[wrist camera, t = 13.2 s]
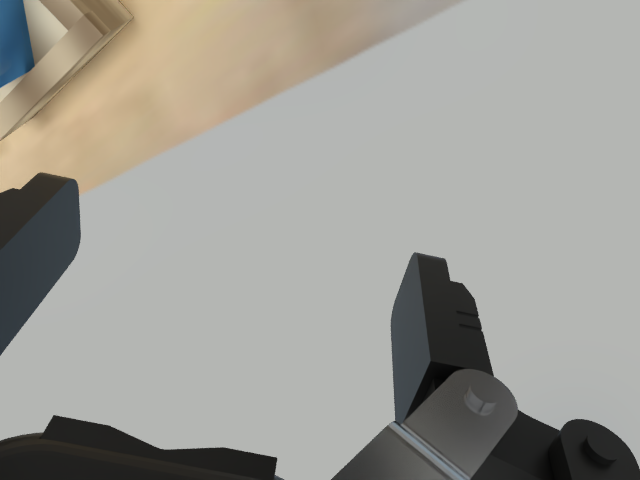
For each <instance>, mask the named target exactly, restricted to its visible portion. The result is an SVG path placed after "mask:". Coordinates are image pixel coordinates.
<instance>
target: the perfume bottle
mask: <svg viewBox="0 0 640 480" xmlns="http://www.w3.org/2000/svg"><path fill="white" fill-rule="evenodd" d="M34 67H35V64H34V58H33V53H32V47H31V41H30V36H29V30H28V25H27V19H26V14H25V8H24V3H23V0H0V88H1V87H3V86H5V85H6V84H8V83H10V82H12V81H13V80H15V79H17V78H19V77H20V76H22V75H24V74H25V73H27V72H29V71H31V70H32V69H33V68H34Z"/></svg>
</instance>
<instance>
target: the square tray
mask: <svg viewBox="0 0 640 480" xmlns="http://www.w3.org/2000/svg"><path fill="white" fill-rule="evenodd" d="M23 3H24V8H25V14H26V19H27V25H28V30H29V36H30V41H31V47H32V53H33V58H34V64H35V67H34V68H33V69H32V70H31V71H29V72H27V73H25V74H24V75H22V76H20V77H19V78H17V79H15V80H13V81H12V82H10V83H8V84H6V85H5V86H3V87H1V88H0V141H1V140H2V139H4V138H5V137H6V136H8V135H9V134H11V133H12V132H13V131H15V130H16V129H18V128H19V127H20V126H22V125H23V124H24V123H26V122H27V121H29V120H30V119H31V118H33V117H34V116H35V115H36V114H37V113H38V112H39V111H40V110H41V109H42V108H43V107H44V106H45V105H46V104H47V103H48V102H49V101H50V100H51V99H52V98H53V97H54V96H55V95H56V94H57V93H58V92H59V91H60V90H61V89H62V88H63V87H64V86H65V85H66V84H67V83H68V82H69V81H70V80H71V79H72V78H73V77H74V76H75V75H76V74H77V73H78V72H79V71H80V70H81V69H82V68H83V67H84V66H85V65H86V64H87V63H88V62H89V61H90V60H91V59H92V58H93V57H94V56H95V55H96V54H97V53H98V52H99V51H100V50H101V49H102V48H103V47H104V46H105V45H106V44H107V43H108V42H109V41H110V40H111V39H112V38H113V37H114V36H115V35H116V34H117V33H118V32H119V31H120V30H121V29H122V28H123V27H124V26H125V25H126V24H127V23H128V22H129V21H130V20H131V19H132V18H133V16H132V15H131V14H130V13H129V11H128V10H127V9H126V8H125V7H124V6H123V5H122V4H121V3H120V1H119V0H23Z"/></svg>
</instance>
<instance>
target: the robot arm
mask: <svg viewBox="0 0 640 480" xmlns="http://www.w3.org/2000/svg"><path fill="white" fill-rule="evenodd" d="M80 237H81V232H80V210H79V190H78V184H77V182H76V180H74V179H71V178H66V177H61V176H56V175H52V174H47V173H38V174H37V175H36V176H35V177H33V178H32V179H31V180H30V181H29V182H28V183H27V184H26V185H25V186H23V187H22V188H21V189H20V190H19V189H14V188H12V189H9V190H7V191H4V192H2V193H0V355H1V354H2V353H3V351H4V350H5V348H6V347H7V346H8V345H9V343H10V342H11V341H12V339H13V338H14V337H15V336H16V334H17V333H18V332H19V330H20V329H21V327H22V326H23V325H24V324H25V322H26V321H27V320H28V319H29V317H30V316H31V315H32V313H33V312H34V311H35V309H36V308H37V307H38V306H39V304H40V303H41V302H42V300H43V299H44V298H45V296H46V295H47V294H48V292H49V291H50V290H51V289H52V287H53V286H54V285H55V283H56V282H57V281H58V279H59V278H60V277H61V275H62V274H63V273H64V271H65V270H66V269H67V268H68V266H69V265H70V264H71V262H72V261H73V260H74V258H75V256H76V254H77V251H78V248H79V244H80ZM478 316H479V315H478V311H477V307H476V303H475V299H474V298H473V297H472V295H471V294H470V293H469V291H468V290H467V289H466V287H465V286H464V285H463V284H462V283H458V282H453V281H450V277H449V272H448V267H447V262H446V260H445V259H444V258H439V257H434V256H429V255H425V254H420V253H413V255H412V257H411V259H410V261H409V264H408V267H407V269H406V272H405V275H404V278H403V280H402V283H401V286H400V289H399V291H398V294H397V297H396V300H395V303H394V306H393V311H392V317H391V341H392V361H393V382H394V401H395V402H394V403H395V421H393V422H391V423H390V424H389V425H387V426H386V427H385V428H384V429H383V430H382V431H381V432H380V433H379V434H378V435H377V436H376V437H375V438H374V439H373V440H372V441H371V442H370V443H369V444H368V445H367V446H365V447H364V448H363V450H361V451H360V452H359V453H358V454H357V455H356V456H355V457H354V458H353V459H352V460H351V461H350V462H349V463H348V464H347V465H346V466H345V467H344V468H343V469H342V470H340V471H339V472H338V473H337V474H336V475H335V476H334V477H333V478H332V479H331V480H640V469H639V466H638V464H637V461H636V459H635V457H634V455H633V453H632V452H631V450H630V449H629V447H628V446H627V445H626V444H625V443H624V442H623V441H622V440H621V439H620V438H619V437H618V436H617V435H615V434H614V433H613V432H612V431H610V430H609V429H607V428H606V427H604V426H602V425H600V424H598V423H595V422H592V421H589V420H584V419H575V420H571V421H568V422H567V423H566V424H565V425H564V426H563V428H562V429H561V430H560V431H559V430H557V429H555V428H553V427H551V426H549V425H546V424H544V423H542V422H540V421H538V420H536V419H533V418H531V417H530V416H528V415H526V414H524V413H522V412H521V411H519V410H518V407H517V403H516V400H515V398H514V396H513V395H512V393H511V392H510V390H509V389H508V388H507V387H506V386H505V385H504V384H503V383H502V382H501V381H499V380H498V379H497V378H495V377H494V375H493V371H492V367H491V363H490V359H489V355H488V351H487V347H486V343H485V339H484V335H483V332H482V331H481V329H482V327H481V323H480V319H479V318H478ZM276 462H277V458H276V457H271V456H265V455H260V454H254V453H250V452H244V451H239V450H234V449H229V448H200V449H199V448H198V449H175V450H164V449H159V448H157V447H154V446H152V445H150V444H148V443H146V442H143V441H141V440H139V439H137V438H135V437H133V436H130V435H128V434H126V433H124V432H122V431H119V430H117V429H115V428H113V427H111V426H108V425H103V424H97V423H92V422H86V421H81V420H76V419H71V418H66V417H60V416H55V415H54V416H53V417H52V419H51V421H50V422H49V424H48V426H47V428H46V429H45V431H44V433H33V434H26V435H20V436H16V437H11V438H7V439H4V440H1V441H0V480H284V479H282V478H280V477H278V476H276V475H275V469H276Z"/></svg>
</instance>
